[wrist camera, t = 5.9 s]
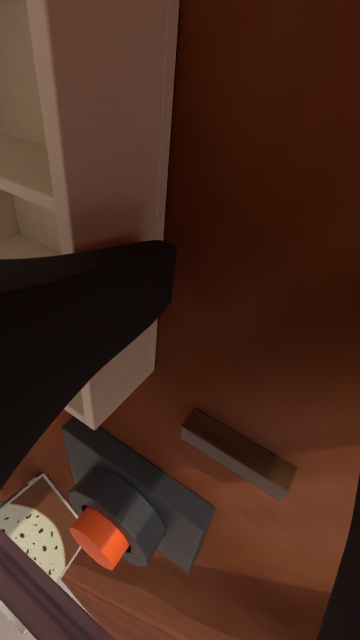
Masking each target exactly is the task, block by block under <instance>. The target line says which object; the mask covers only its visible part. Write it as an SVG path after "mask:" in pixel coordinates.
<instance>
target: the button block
mask: <svg viewBox="0 0 360 640" xmlns="http://www.w3.org/2000/svg"><path fill="white" fill-rule="evenodd" d="M61 429H62V433H63V438H64V442H65V446H66V451H67V455H68V460H69V464H70V468H71V473H72V477H73V482H74V484H76V485H75V486H74V487H73V488H72V489H71V490H70V491H69V493H68V495H69V499H70V503H71V505H72V507H73V508H74V510H75V511H76V513H77V514H78V516H80V515H81V514H82V513H83V511H84V510H85V509H86V508H87V507H88V506H89V507H91V508H93V509H95V510H97V511H98V512H100V513H101V514H102V515H103V516H105V517H106V518H107V519H108V520H109V521H111V522H112V523H113V524H114V526H115V527H116V528H117V529H118V530H119V531H120V532H121V533H122V534H123V535H124V537H125V538H126V540H127V541H128V543H129V547H128V548H127V550H126V551H125V553H124V554H123V556H122V558H123V559H125V560H126V561H128V562H130V563H131V564H133V565H136V566H142V567H146V566H147V564H148V563H149V561H150V559H151V558H152V556H153V554H154V553H155V551H156V550H158V551H159V552H161V553H162V554H163V555H164V556H166V557H167V558H168V559H169V560H171V561H172V562H173V563H174V564H176V565H177V566H178V567H179V568H181V569H182V570H183V571H185V572H186V573H187V574H188V573H189V571H190V569H191V567H192V565H193V564H194V562H195V560H196V558H197V556H198V554H199V551H200V548H201V546H202V543H203V540H204V538H205V535H206V532H207V530H208V527H209V525H210V522H211V519H212V517H213V514H214V511H215V507H213V506H212V505H210V504H209V503H208V502H206V501H205V500H203V499H202V498H200V497H199V496H197V495H196V494H195V493H193V492H192V491H190V490H189V489H187V488H186V487H184V486H183V485H182V484H180V483H179V482H177V481H176V480H174V479H173V478H171V477H170V476H168V475H167V474H166V473H164V472H163V471H161V470H160V469H158V468H157V467H155V466H154V465H153V464H151V463H150V462H148V461H147V460H145V459H144V458H142V457H141V456H140V455H138V454H137V453H135V452H134V451H132V450H131V449H129V448H128V447H127V446H125V445H124V444H122V443H121V442H119V441H118V440H116V439H115V438H114V437H112V436H111V435H109V434H108V433H106V432H105V431H103V430H102V429H101V428H99V427H98V428H97V429H96V430H93V429H91V428H90V427H89V426H87V425H86V424H84V423H83V422H81V421H80V420H79V419H77V418H76V417H74V416H73V417H72V418H71V419H70V420H69V421H67V422H66V423H65V424H64V425H63V426H62V427H61Z"/></svg>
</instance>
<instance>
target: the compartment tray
mask: <svg viewBox="0 0 360 640" xmlns="http://www.w3.org/2000/svg"><path fill="white" fill-rule="evenodd" d="M179 1H180V0H0V259H23V258H37V257H48V256H57V255H64V254H71V253H78V252H84V251H91V250H97V249H103V248H108V247H114V246H119V245H125V244H130V243H136V242H142V241H150V240H162V241H163V235H164V221H165V206H166V191H167V177H168V162H169V147H170V133H171V118H172V104H173V89H174V74H175V60H176V45H177V30H178V16H179ZM157 323H158V318H157V320H156V321H155V322H154V323H153V324H152V325H151V326H150V327H149V328H148V329H146V330H145V331H144V332H143V333H142V334H141V335H140V336H138V337H137V338H136V339H135V340H134V341H133V342H132V343H130V344H129V345H128V346H127V347H126V348H125V349H124V350H122V351H121V352H120V353H119V354H118V355H117V356H115V357H114V358H113V359H112V360H111V361H110V362H108V363H107V364H106V365H105V366H104V367H103V368H102V369H101V370H100V371H99V372H98V373H96V374H95V375H94V376H93V377H92V378H91V380H90V381H89V382H88V383H87V384H86V385H85V386H84V387H83V388H82V389H81V390H80V391H79V392H78V394H77V395H76V396H75V397H74V398H73V399H72V400H71V401H70V402H69V404H68V405H67V406H66V407H65V408H64V410H66V411H67V412H69V413H70V414H72V415H73V416H74V417H76V418H77V419H79V420H80V421H81V422H83V423H84V424H86V425H87V426H89V427H90V428H91V429H93V430H96V429H97V428H98V427H99V426H100V425H101V424H102V423H103V422H104V421H105V420H106V419H107V418H108V417H109V416H110V415H111V414H112V413H113V412H114V411H115V410H116V409H117V408H118V406H119V405H120V404H121V403H122V402H123V401H124V400H125V399H126V398H127V397H128V396H129V395H130V394H131V393H132V392H133V391H134V390H135V389H136V388H137V387H138V386H139V385H140V384H141V383H142V382H143V381H144V380H145V379H146V378H147V377H148V376H149V375H150V374H151V373H152V372H153V371H154V367H155V352H156V338H157Z"/></svg>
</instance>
